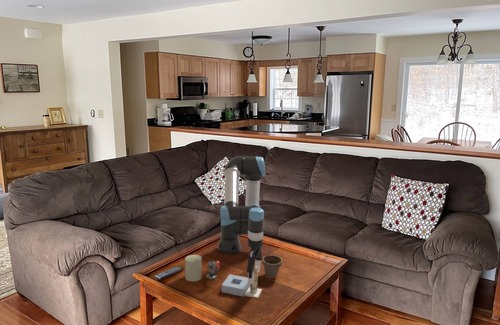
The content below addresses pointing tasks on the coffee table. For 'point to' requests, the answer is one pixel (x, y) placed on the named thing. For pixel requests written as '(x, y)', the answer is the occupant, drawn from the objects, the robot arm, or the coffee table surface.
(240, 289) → the block
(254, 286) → the dowel
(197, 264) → the can
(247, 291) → the mat
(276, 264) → the flower pot
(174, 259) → the coffee table surface
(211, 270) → the crank post
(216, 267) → the chrome ball lever
